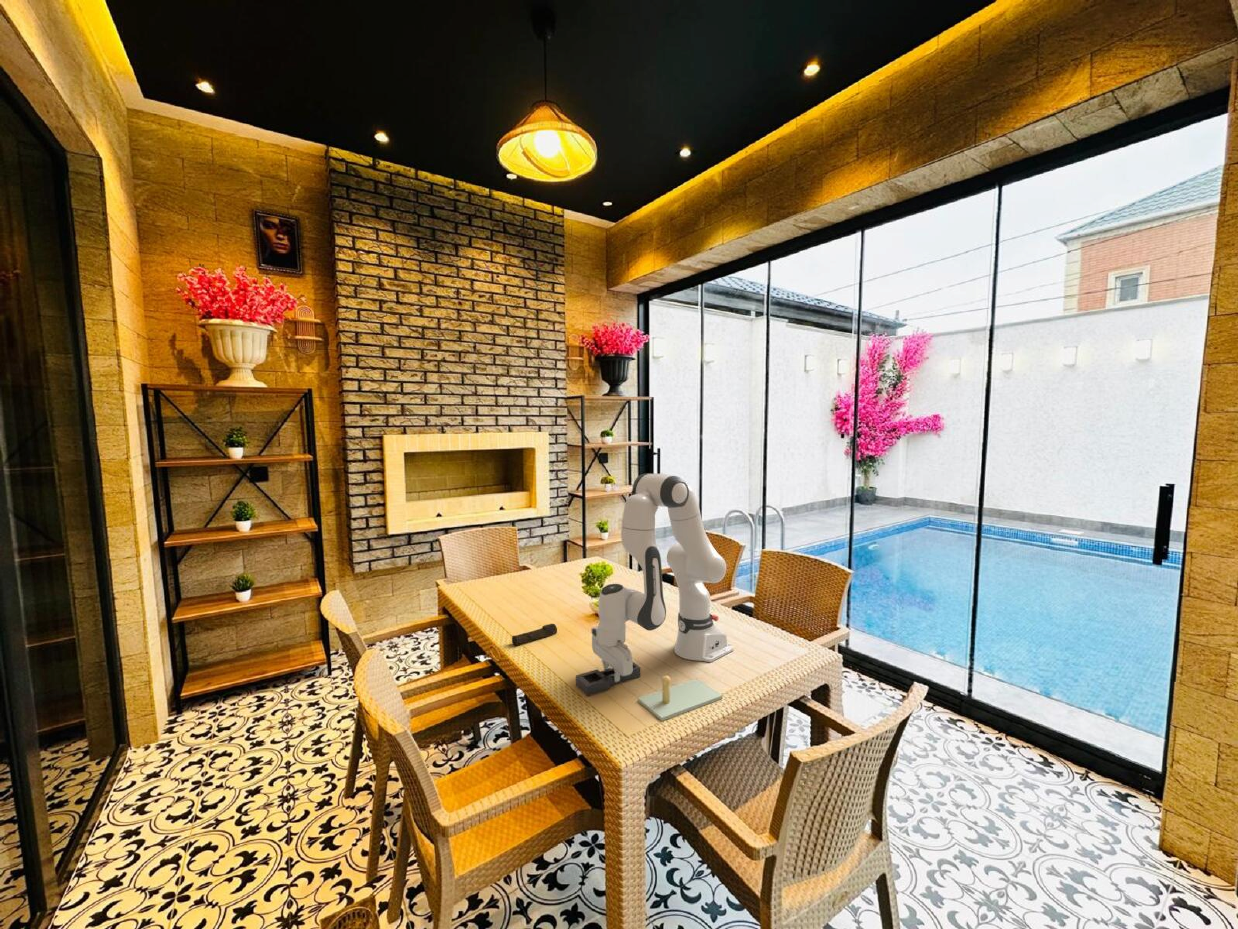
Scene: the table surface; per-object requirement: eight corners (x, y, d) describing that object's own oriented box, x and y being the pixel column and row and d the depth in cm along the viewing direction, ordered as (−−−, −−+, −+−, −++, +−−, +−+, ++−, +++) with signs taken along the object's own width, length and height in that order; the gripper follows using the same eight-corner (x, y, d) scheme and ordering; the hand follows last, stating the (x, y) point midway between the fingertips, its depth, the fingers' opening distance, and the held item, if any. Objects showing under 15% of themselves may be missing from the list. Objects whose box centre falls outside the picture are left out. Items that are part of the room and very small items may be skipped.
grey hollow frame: (587, 696, 153) (587, 686, 152) (575, 685, 159) (575, 675, 159) (643, 679, 163) (643, 669, 163) (630, 669, 170) (630, 660, 170)
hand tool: (515, 648, 186) (515, 636, 186) (511, 644, 189) (511, 632, 189) (560, 636, 197) (560, 625, 197) (555, 633, 200) (555, 621, 200)
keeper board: (696, 681, 162) (697, 655, 162) (722, 698, 152) (723, 670, 151) (638, 701, 150) (638, 672, 150) (661, 721, 140) (662, 690, 139)
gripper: (637, 645, 153) (637, 688, 154) (604, 623, 171) (604, 661, 172) (620, 650, 150) (620, 694, 151) (588, 626, 167) (588, 666, 168)
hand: (611, 676), depth 162 cm, fingers closed on grey hollow frame, 4 cm apart
